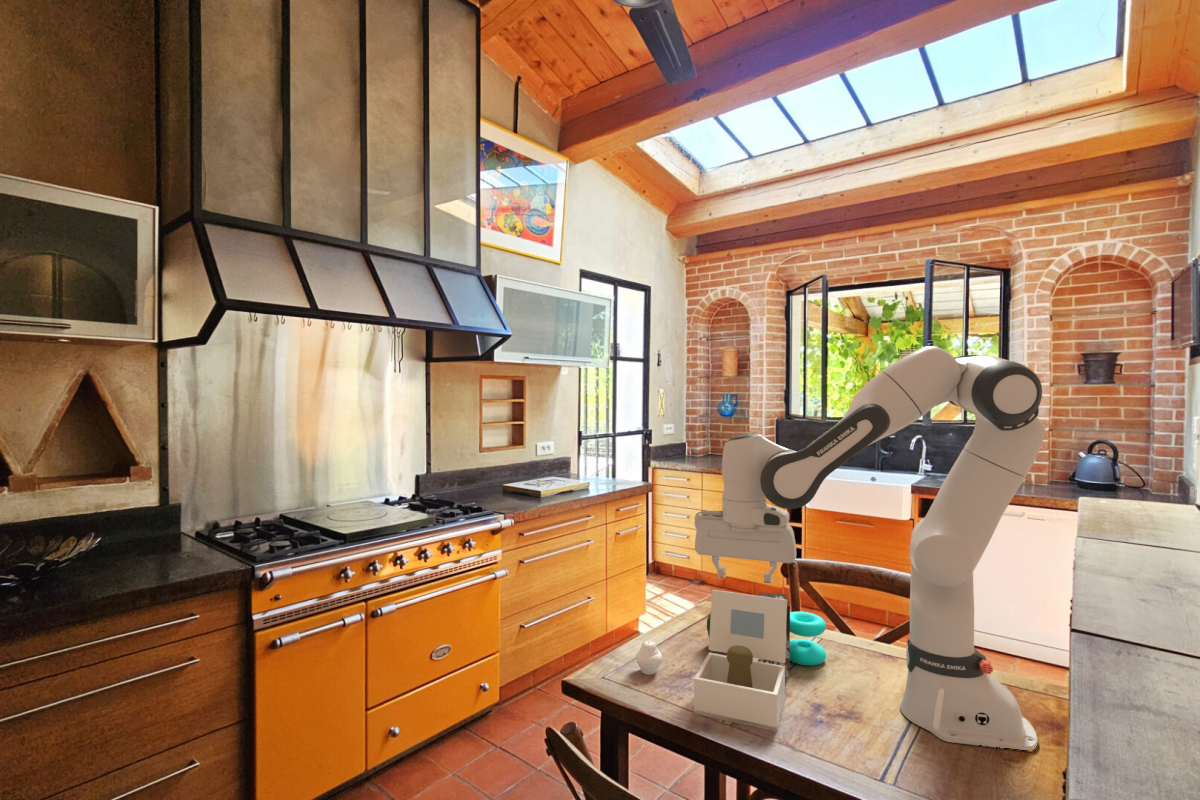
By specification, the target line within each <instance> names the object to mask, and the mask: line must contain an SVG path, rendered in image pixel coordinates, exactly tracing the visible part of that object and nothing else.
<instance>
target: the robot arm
mask: <svg viewBox="0 0 1200 800" xmlns="http://www.w3.org/2000/svg"><path fill="white" fill-rule="evenodd" d="M1042 397H1043V386H1042V382H1041V380H1040V378H1039V376H1038V375H1037V374H1036V373H1035V372H1034V371H1033V370H1032V369H1031V368H1029V367H1027V366H1026V365H1024V364H1022V363H1019V362H1016V361H1011V360H1009V359H1005V358H1002V357H999V356H981V355H976V354H968V355H961V356H960V355H959V356H955V357H954V355H952V354H951V353H950V352H948V351H947V350H946V349H944V348H941V347H938V346H934V345H932V346H931V345H930V346H929V345H928V346H924V347H921V348H920V349H917V350H915V351H912V352H911V353H909V354H907V355H905V356H904V357H902V358H900V359H898V360H897V361H895V362H894V363H892V364H891V365H889V366H888V367H887V366H886V368H885V369H883V370H881V371H880V372H879V373H877V374H876V375H875V376H874V377H873V378H871V379H870V380H869V381H868V382H867V383H866V384H865V385H864V386H862V388H861V389H860V390H859V391H857V393H856V394H855V395H854V396H853V398H852V400H851V404H850V406H849V408H848V409H847V411H846V413H845V415H844V416H843V417H842V418H841V419H840V420H839V421H838V422H837V423H836V424H835V425H833V426H832V427H831V428H830V429H829V430H827V431H825V432H824V433H823V434H822V435H820V436H819V437H817V438H816V439H815V440H813V442H810V443H809V444H808V445H807V446H806V447H803V448H802V449H800V450H797V451H796V450H793V449H790V448H787V447H784V446H781V445H779V444H777V443H774V442H773V441H771V440H769V439H767V438H766V437H765V436H764V435H762V433H758V432H756V433H755V432H753V433H743V434H740V435H736V436H732V437H731V438H729V439H728V440H727V441H726V442H725V444H724V445H723V450H722V451H723V452H722V464H721V477H722V481H723V491H722V500H721V502H722V503H721V504H722V506H721V507H722V509H721V510H709V509H701V511H698V512H697V513H695V515H694V527H695V529H696V533H695V541H694V550H695V552H696V554H698V555H700V556H711V562H712V564H713V566H714V567H715V569H716V570H717V571H716V573H717V578H719V579H720V578H721V579H725V578H726V577H727V572H726V571H727V568H726V567H723V566H722V564H721V562H720V560H721V558H731V559H740V560H742V559H743V560H750V561H752V560H753V561H761V562H763V561H764V562H769V567H770V568H771V569H770V570H769V571H767V572H766V571H765V572H764V574H763V578H764V580H763V583H766V584H772V583H773V581H774V579H773V574H774V572H775V571H776V570H777V568H778V566H779V563H782V564H783V563H784V564H792V563H793V562H794V561H795V560H796V559H797V545H796V539H795V537H796V536H795V531H794V530H793V527H792V526H791V525H790V524H789V522H790V513H789V511H787V510H794V509H796V510H797V509H799V508H802V507H804V506H806V505H807V504H809V503H810V502H811V501H812V500H813V499H814V498H815V495H817V492H818V490H819V489H820V487H821V485H822V484H823V482H824V480H825V479H826V478H827V477H828V476H829V475H831V474H832V473H833V472H834V471H835V470H837V469H838V468H840V467H841V466H843V465H844V464H845V463H846V462H847V461H849V460H851V459H852V458H853V457H854V456H856V455H857V454H858V453H860V452H861V451H863V450H864V449H865V448H867V447H868V446H870V445H872V444H874V443H876V442H878V441H880V440H882V439H884V438H887V437H888V436H891V435H892V434H895V433H897V432H899V431H901V430H903V429H904V428H906V427H908V426H910V425H911V424H913V423H914V422H916V421H917V420H919V419H920V418H921V417H924V415H926V414H927V413H928V412H931V410H932V409H933V408H935V407H938V406H940V405H942V404H944V403H946V402H947V403H950V404H951V405H954V406H956V407H958V408H960V409H962V410H964V411H965V412H968V413H969V414H973V415H974V418H975V421H974V422H975V424H974V429H973V431H972V435H971V436H970V437H969V439H968V440H967V442H966V443H965V445H964V447H963V448H962V450H961V452H960V453H959V455H958V457H957V459H956V460H955V462H954V463H953V465H952V467H951V468H950V470H949V472H948V473H947V474H946V477H945V479H944V480H943V482H942V483H941V486H940V489H939V490H938V492H937V494H936V496H935V498H934V499H933V502H932V504H931V505H930V507H929V509H928V511H927V513H926V514H925V516H924V517H923V518H921V519H920V520H919V521H918V522H917V523H916V524H915V525H914V527H913V528H912V531H911V535H910V542H909V543H910V545H909V557H910V588H909V589H910V590H909V591H910V593H909V594H910V595H909V637H908V639H907V641H906V643H907V644H906V659H905V660H906V667H907V678H906V684H905V689H904V693H903V696H902V700H901V702H900V705H899V709H900V712H901V713H902V714H903V716H904V717H905V718H907V719H908V720H909V722H912V723H913V724H915V725H917V726H918V727H920V728H923V729H925V730H927V731H929V732H930V733H932V734H933V735H934V736H935V737H937V738H938V739H940V740H942V741H945V742H947V743H955V744H963V745H969V746H970V745H972V746H979V745H982V746H981V747H987V746H988V747H989V748H996V747H998V748H997V749H1004V748H1016V749H1026V750H1033V749H1035V748H1036V746H1037V743H1038V736H1037V732H1036V730H1035V728H1034V727H1033V725H1032V724H1031V722H1030V721H1029V720H1028V719H1027V718H1026V717H1024V716H1023V715H1022V711H1021V708H1020V705H1019V703H1018V700H1017V699H1016V697H1015V696H1014V695H1013V693H1012V692H1011V691H1010V690H1009V688H1007V686H1005V685H1004V684H1002V683H1001V682H1000V681H999V680H997V679H996V678H995V677H994V676H992V675H991V674H992V673H993V672H994V667H993V665H992V664H991V662H990V661H989V660H987V657H986V656H985V655H984V654H983V653H982V652H981V650H980V649H979V648H977V649H976V648H975V599H974V598H975V596H974V592H975V591H974V590H975V589H974V571H975V569H976V568H977V565H978V564H979V562H980V560H981V558H982V556H983V554H984V553H985V551H986V549H987V547H988V545H989V543H990V541H991V540H992V537H993V536H994V534H995V531H996V529H997V527H998V525H999V523H1000V521H1001V520H1002V519H1001V518H1002V516H1003V514H1004V513H1005V511H1006V509H1007V508H1008V506H1009V505H1010V503H1011V501H1012V500H1013V499H1014V497H1015V495H1016V493H1017V492H1018V490H1019V489H1020V487H1021V485H1022V484H1023V482H1024V481H1025V479H1026V477H1027V476H1028V474H1029V472H1030V471H1031V468H1032V467H1033V464H1034V463H1035V461H1036V459H1037V457H1038V455H1039V453H1040V449H1041V447H1042V444H1043V442H1044V438H1045V436H1046V428H1045V425H1044V423H1043V422H1042V420H1040V418H1039V417H1038V415H1039V414H1040V413H1039V411H1040V410H1039V407H1040V404H1041V402H1042ZM767 500H768V501H769V502H770V503H771V504H769V503H767ZM772 504H773V505H772ZM785 509H786V510H785ZM1038 744H1039V743H1038ZM988 747H987V748H988ZM999 747H1000V748H999ZM1037 747H1038V746H1037ZM1036 749H1037V748H1036ZM1036 749H1035V750H1036Z"/></svg>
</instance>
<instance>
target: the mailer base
mask: <svg viewBox="0 0 1200 800" xmlns="http://www.w3.org/2000/svg"><path fill="white" fill-rule="evenodd" d="M750 670H751V678H752V686H753V688H750V687H745V686H739V685H734V684H729V683H727V678H728V671H729V662H728V660H727V655H723V654H719V653H712V652H708V654H707V655H706V657H705V659H704V661H703V663H702V664H701V665H700V667H699V669H698V671H697V672H696V674H695V676H694V678H693V714H694V715H697V716H698V715H699V716H704V717H708V718H712V719H713V718H714V719H717V720H720V721H721V720H722V721H726V722H731V723H736V724H739V725H744V726H747V727H753V728H758V729H762V730H767V731H771V732H775V733H777V732H778V730H779V725H780V721H781V717H782V712H783V709H784V705H785V700H786V699H785V698H786V695H785V694H786V691H785V690H786V685H785V684H786V683H785V681H786V677H785V666H780V665H775V664H769V663H764V662H760V661H758V660H757V661H756V660H753V661H752V664H751V665H750Z"/></svg>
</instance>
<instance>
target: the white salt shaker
mask: <svg viewBox="0 0 1200 800" xmlns="http://www.w3.org/2000/svg"><path fill="white" fill-rule="evenodd" d="M635 659H636V662H637V665H638V667H639V669H640V671H641V673H642V674H644V675H648V676H650V675H655V674H656V673H657V671H658V669H659V667H660V665H661V664H662V660H663V654H662V653H661V651H660V650H659V649H658V647H657V644H656V643H655V642H654V641H647V640H646V641H643V643H642V644H641V647H640V649H638V650H637V651H636V653H635Z"/></svg>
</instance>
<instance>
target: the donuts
mask: <svg viewBox="0 0 1200 800" xmlns="http://www.w3.org/2000/svg"><path fill="white" fill-rule="evenodd" d="M826 630H827V625H826V621H825V620H824V619H823V617H821V616H820V615H817V614H815V613H813V612H812V613H811V612H807V611H790V634H791V633H792V634H793V635H796V636H800V637H804V638H793V639H790V662H792V663H794V664H797V665H802V666H817V665H821V664H822V663H824V661H825V660H826V658H827V654H826V651H825V649H824V648H823V646H822V645H820V644H819V643H817V642H816V641H813V640H811V639H805V637H808V638H811V637H816V636H820V635H822V634H823V633H824V632H826Z"/></svg>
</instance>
